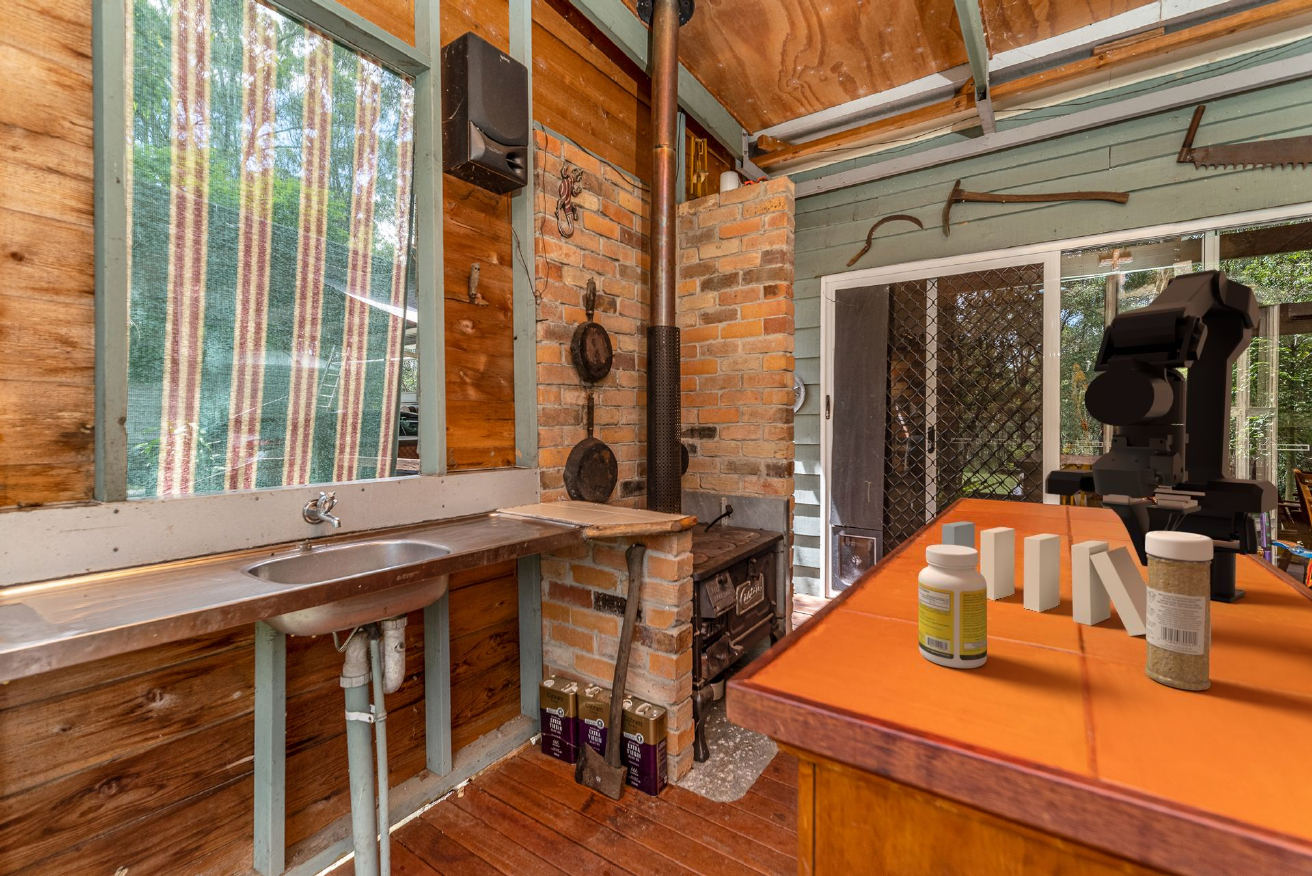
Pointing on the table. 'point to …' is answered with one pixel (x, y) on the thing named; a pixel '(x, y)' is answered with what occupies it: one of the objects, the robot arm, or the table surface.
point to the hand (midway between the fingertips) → (1148, 566)
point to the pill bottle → (952, 608)
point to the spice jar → (1178, 609)
